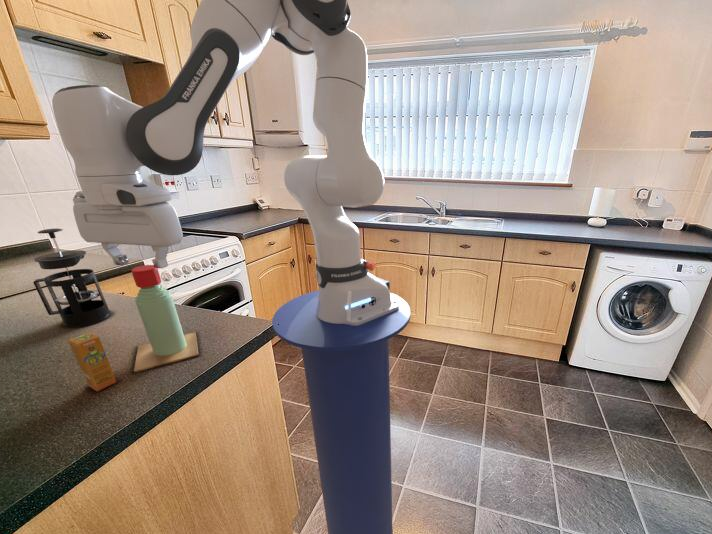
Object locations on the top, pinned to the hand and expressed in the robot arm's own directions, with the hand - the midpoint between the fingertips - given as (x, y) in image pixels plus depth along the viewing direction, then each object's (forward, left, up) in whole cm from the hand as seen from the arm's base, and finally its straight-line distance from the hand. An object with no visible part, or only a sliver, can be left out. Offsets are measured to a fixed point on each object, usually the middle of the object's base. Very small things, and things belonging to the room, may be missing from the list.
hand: (141, 265), depth 66 cm
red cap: (0, +1, -4) cm, 4 cm away
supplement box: (+10, +8, -19) cm, 23 cm away
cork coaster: (0, +1, -19) cm, 19 cm away
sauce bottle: (0, +1, -18) cm, 18 cm away
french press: (+18, -28, -19) cm, 38 cm away
